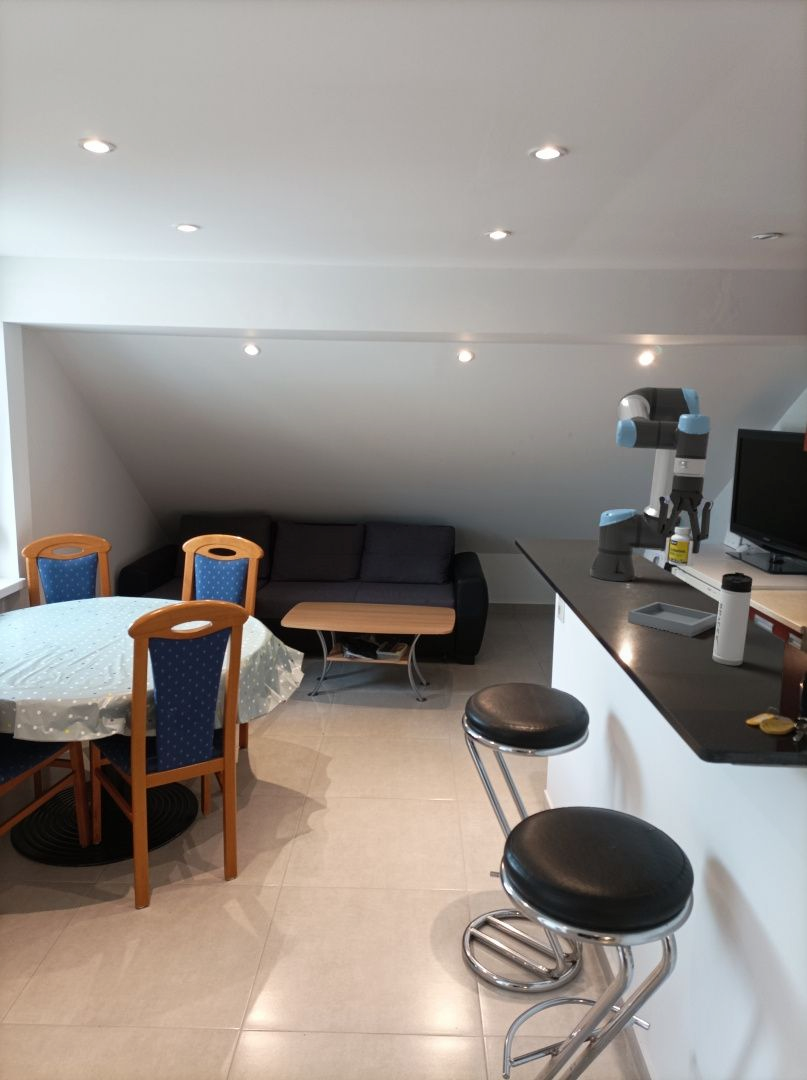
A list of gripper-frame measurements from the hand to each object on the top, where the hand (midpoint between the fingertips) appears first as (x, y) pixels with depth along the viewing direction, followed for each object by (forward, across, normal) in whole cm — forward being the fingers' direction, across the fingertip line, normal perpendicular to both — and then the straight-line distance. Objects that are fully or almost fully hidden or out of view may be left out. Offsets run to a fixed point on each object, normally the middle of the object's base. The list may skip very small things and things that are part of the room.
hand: (678, 563), depth 196 cm
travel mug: (+17, +22, -21) cm, 35 cm away
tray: (+16, 0, 0) cm, 16 cm away
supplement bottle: (+1, 0, 0) cm, 1 cm away
